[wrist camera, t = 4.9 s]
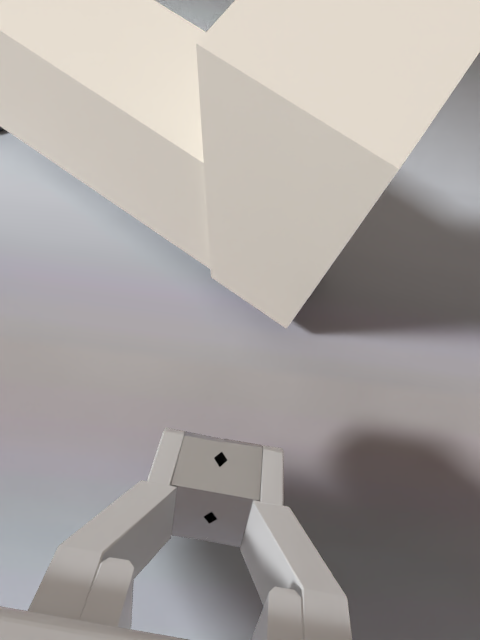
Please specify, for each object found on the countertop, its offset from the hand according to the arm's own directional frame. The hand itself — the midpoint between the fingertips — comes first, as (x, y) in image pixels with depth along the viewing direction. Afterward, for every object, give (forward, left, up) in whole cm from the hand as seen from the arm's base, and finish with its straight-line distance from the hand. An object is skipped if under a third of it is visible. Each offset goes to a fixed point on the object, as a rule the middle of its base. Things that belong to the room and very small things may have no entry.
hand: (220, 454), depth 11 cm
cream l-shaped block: (-10, +2, -4) cm, 11 cm away
